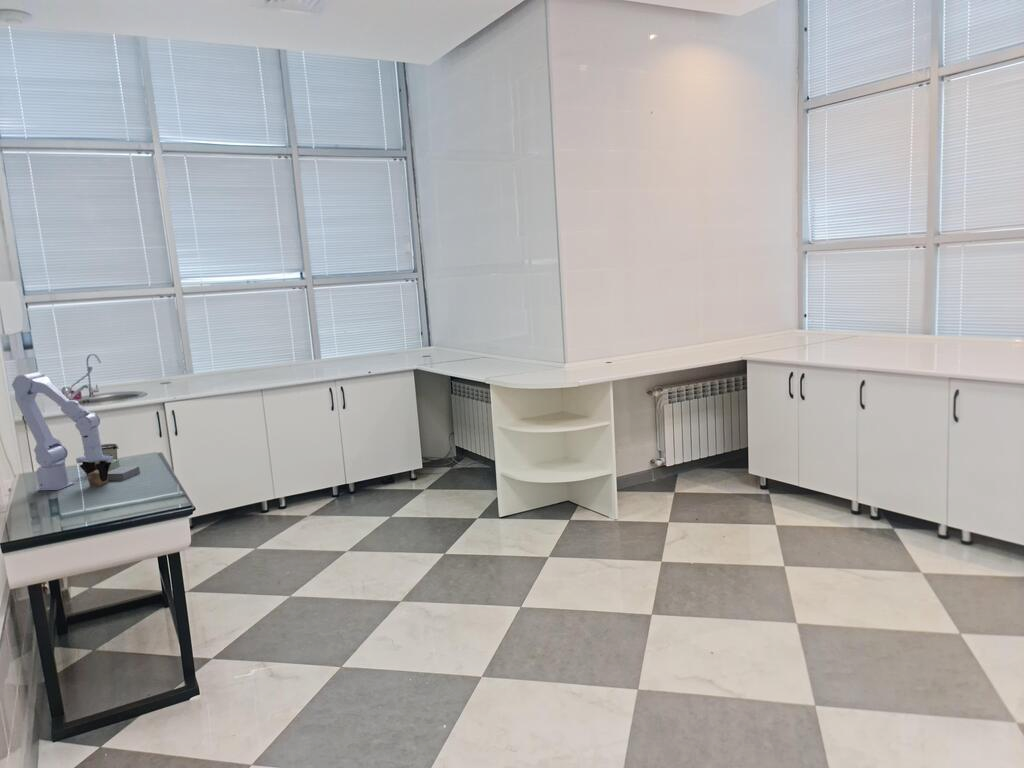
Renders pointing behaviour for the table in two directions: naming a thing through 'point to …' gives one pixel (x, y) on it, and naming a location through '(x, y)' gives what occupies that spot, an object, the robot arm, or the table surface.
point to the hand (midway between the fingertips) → (98, 480)
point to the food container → (108, 451)
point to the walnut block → (96, 479)
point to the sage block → (114, 465)
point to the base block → (123, 473)
